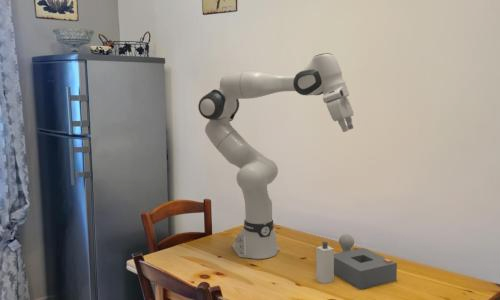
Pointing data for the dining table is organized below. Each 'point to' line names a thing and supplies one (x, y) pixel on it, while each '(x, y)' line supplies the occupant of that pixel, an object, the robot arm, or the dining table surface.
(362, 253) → the socket housing
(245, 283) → the dining table surface
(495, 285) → the dining table surface
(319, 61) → the robot arm
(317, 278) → the plug
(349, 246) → the light bulb
